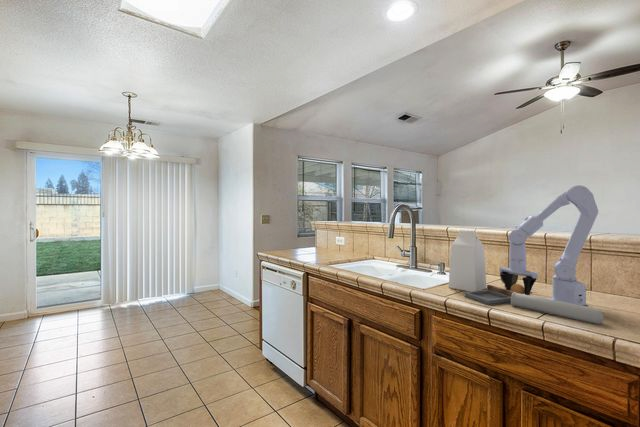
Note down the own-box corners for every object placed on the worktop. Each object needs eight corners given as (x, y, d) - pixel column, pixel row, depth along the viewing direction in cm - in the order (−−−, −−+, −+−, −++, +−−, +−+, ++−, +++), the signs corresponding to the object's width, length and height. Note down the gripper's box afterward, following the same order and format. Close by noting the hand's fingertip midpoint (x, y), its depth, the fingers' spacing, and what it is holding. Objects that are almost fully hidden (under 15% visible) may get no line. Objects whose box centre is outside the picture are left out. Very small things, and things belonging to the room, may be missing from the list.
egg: (528, 297, 125) (528, 284, 125) (518, 298, 124) (518, 285, 124) (516, 294, 130) (516, 282, 130) (507, 295, 128) (507, 283, 128)
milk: (448, 287, 142) (448, 230, 142) (459, 283, 150) (459, 229, 150) (475, 292, 133) (475, 231, 133) (486, 287, 141) (486, 230, 141)
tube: (606, 310, 97) (517, 293, 117) (602, 308, 94) (511, 290, 114) (604, 327, 96) (515, 307, 116) (600, 325, 93) (509, 305, 113)
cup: (513, 285, 144) (513, 268, 144) (522, 289, 137) (522, 271, 137) (496, 285, 145) (496, 268, 145) (504, 289, 138) (504, 271, 138)
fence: (528, 303, 117) (528, 295, 117) (525, 303, 116) (525, 295, 116) (489, 291, 134) (489, 284, 134) (487, 292, 133) (487, 285, 133)
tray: (513, 302, 118) (513, 297, 118) (488, 305, 115) (488, 300, 115) (488, 294, 130) (488, 290, 130) (464, 296, 126) (464, 292, 126)
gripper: (542, 261, 122) (542, 295, 122) (507, 256, 135) (507, 287, 135) (531, 262, 119) (531, 298, 119) (496, 257, 132) (496, 289, 132)
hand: (517, 292), depth 127 cm, fingers open, 7 cm apart
